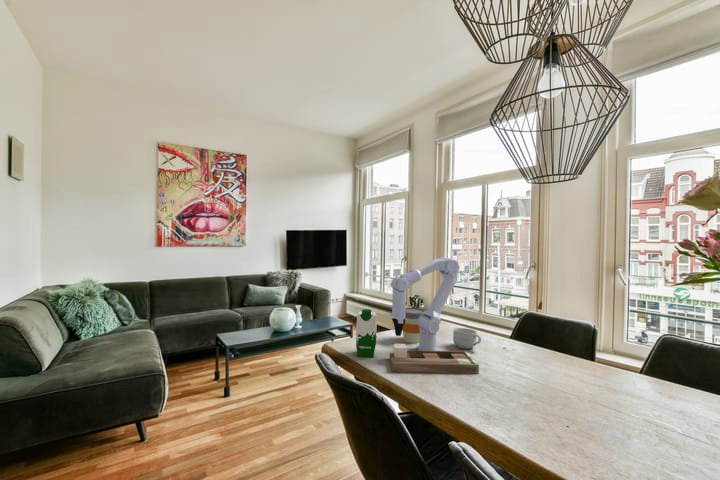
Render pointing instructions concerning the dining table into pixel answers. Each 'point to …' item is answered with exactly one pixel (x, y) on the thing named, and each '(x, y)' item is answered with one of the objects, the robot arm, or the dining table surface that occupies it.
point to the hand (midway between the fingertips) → (398, 335)
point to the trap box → (435, 362)
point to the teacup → (465, 337)
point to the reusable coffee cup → (412, 325)
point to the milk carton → (366, 333)
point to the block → (400, 351)
